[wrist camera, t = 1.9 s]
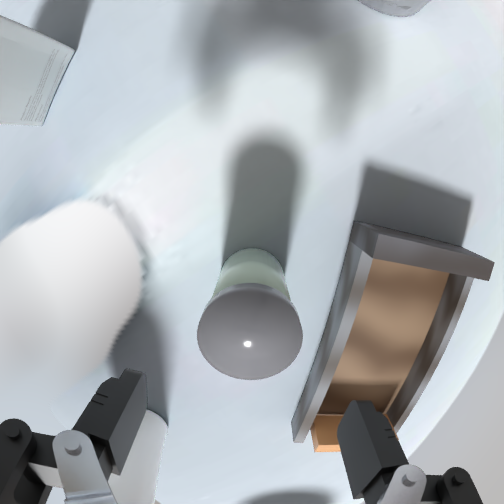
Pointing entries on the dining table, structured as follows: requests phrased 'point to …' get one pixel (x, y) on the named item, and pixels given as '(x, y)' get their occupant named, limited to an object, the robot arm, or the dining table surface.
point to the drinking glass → (141, 463)
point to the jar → (250, 319)
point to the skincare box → (28, 73)
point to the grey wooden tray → (387, 323)
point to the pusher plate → (328, 432)
